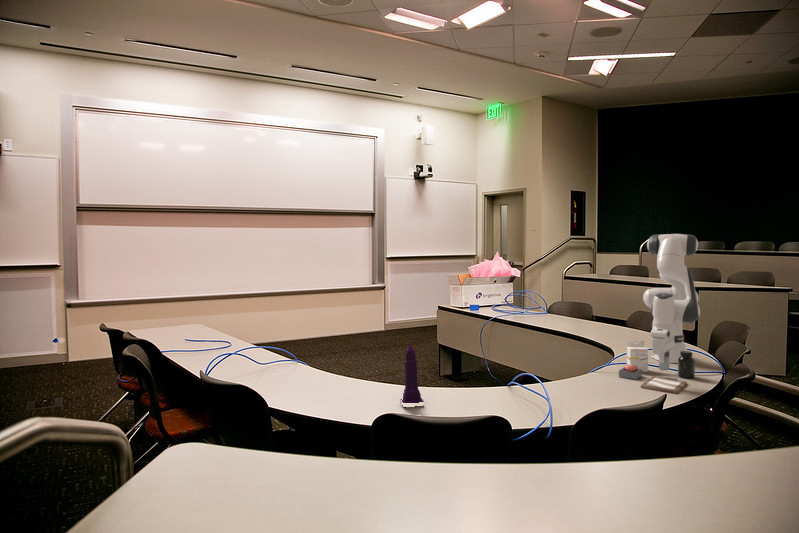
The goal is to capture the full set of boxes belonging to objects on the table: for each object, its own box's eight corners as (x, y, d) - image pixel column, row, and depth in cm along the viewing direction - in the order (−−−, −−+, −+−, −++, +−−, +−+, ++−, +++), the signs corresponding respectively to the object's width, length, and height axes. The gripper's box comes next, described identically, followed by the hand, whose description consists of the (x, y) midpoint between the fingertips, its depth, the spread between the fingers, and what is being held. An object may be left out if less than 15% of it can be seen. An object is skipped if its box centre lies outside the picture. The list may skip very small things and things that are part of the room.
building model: (403, 408, 192) (400, 335, 191) (400, 403, 199) (398, 332, 197) (424, 406, 194) (421, 334, 192) (420, 401, 200) (418, 331, 199)
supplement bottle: (688, 374, 226) (688, 349, 226) (698, 378, 220) (698, 353, 219) (674, 375, 226) (674, 350, 226) (683, 379, 219) (683, 353, 219)
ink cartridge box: (630, 371, 234) (630, 342, 233) (626, 369, 239) (626, 340, 238) (648, 371, 233) (648, 342, 232) (644, 369, 238) (644, 340, 237)
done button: (627, 370, 229) (627, 364, 229) (637, 371, 226) (637, 365, 226) (624, 372, 226) (624, 366, 226) (633, 373, 223) (633, 367, 223)
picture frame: (653, 378, 222) (653, 374, 222) (687, 384, 212) (687, 379, 212) (640, 387, 209) (640, 383, 209) (676, 394, 199) (676, 389, 199)
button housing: (624, 373, 232) (624, 366, 232) (642, 376, 226) (642, 369, 226) (618, 377, 226) (618, 370, 226) (636, 380, 220) (636, 373, 220)
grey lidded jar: (660, 367, 213) (660, 350, 213) (670, 369, 210) (670, 351, 210) (657, 369, 210) (657, 351, 210) (668, 371, 207) (667, 352, 207)
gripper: (662, 326, 219) (663, 355, 220) (649, 333, 204) (649, 364, 205) (678, 327, 215) (678, 357, 215) (665, 334, 200) (665, 366, 200)
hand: (664, 361), depth 210 cm, fingers closed on grey lidded jar, 4 cm apart
